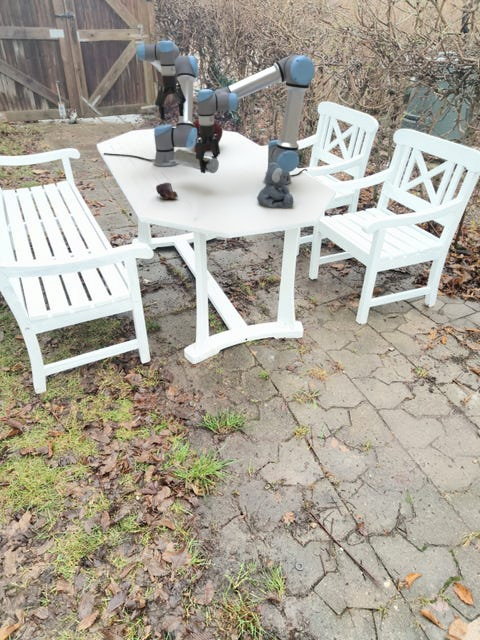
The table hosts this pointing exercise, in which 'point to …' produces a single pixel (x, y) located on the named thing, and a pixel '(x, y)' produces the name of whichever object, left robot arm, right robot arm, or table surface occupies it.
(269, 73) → the right robot arm
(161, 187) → the rock
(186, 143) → the left robot arm
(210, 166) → the rod
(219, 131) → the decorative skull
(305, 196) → the table surface
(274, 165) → the koala plush
